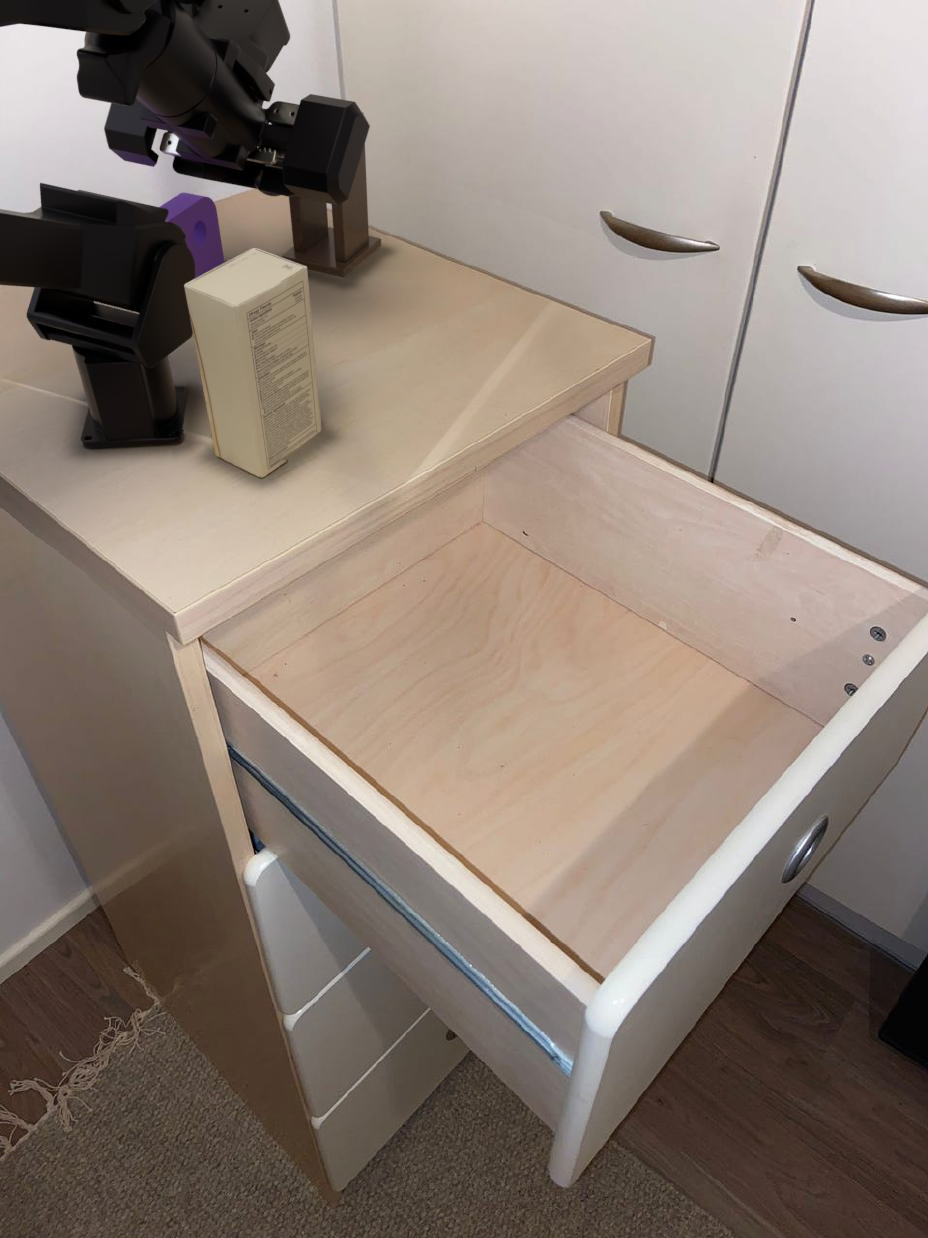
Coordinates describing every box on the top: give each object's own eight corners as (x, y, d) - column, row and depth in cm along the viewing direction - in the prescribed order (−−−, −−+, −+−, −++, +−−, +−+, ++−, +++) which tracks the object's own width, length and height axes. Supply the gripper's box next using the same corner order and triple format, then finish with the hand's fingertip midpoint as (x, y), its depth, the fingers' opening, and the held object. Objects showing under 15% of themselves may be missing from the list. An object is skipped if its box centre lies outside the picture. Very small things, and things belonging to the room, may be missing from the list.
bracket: (226, 272, 83) (213, 190, 78) (181, 307, 79) (165, 222, 74) (106, 246, 86) (87, 166, 81) (57, 279, 81) (33, 195, 77)
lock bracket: (344, 283, 82) (335, 135, 74) (282, 269, 84) (266, 122, 76) (381, 251, 87) (376, 108, 79) (322, 238, 89) (311, 96, 80)
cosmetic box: (276, 415, 68) (255, 244, 59) (325, 437, 66) (311, 264, 58) (211, 458, 64) (178, 281, 56) (262, 482, 62) (236, 304, 54)
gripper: (347, -40, 58) (426, 104, 73) (88, -75, 62) (213, 67, 77) (293, 145, 58) (383, 250, 73) (40, 96, 63) (173, 204, 78)
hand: (286, 187), depth 75 cm, fingers closed on lock lever, 3 cm apart
